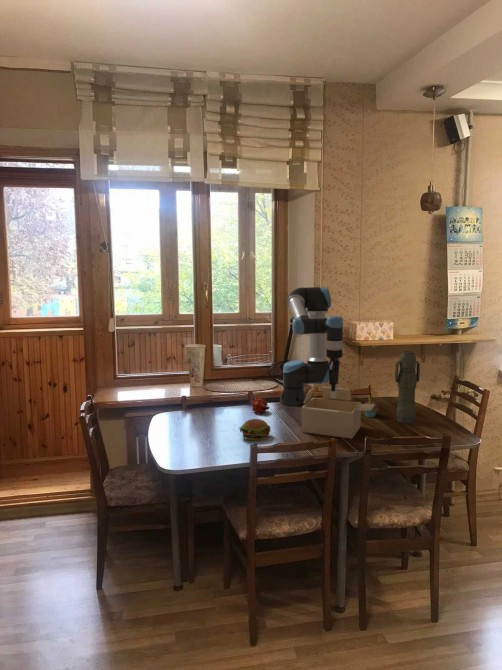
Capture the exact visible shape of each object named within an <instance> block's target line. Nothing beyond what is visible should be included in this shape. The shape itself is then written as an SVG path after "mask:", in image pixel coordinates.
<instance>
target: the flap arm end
mask: <svg viewBox="0 0 502 670" xmlns="http://www.w3.org/2000/svg"><path fill="white" fill-rule="evenodd" d="M314 391H315V387H313V386H312V388H311V389H309V390H308V391H307V393H306V398H305V400H304V402H303V405H305V403H306V402H308V401H310V400H311V399H312V398H311V397H312V395H313V393H314Z"/></svg>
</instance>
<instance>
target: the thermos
mask: <svg viewBox="0 0 502 670" xmlns="http://www.w3.org/2000/svg"><path fill="white" fill-rule="evenodd" d="M394 367H395V368H394V369H395V370H394V382H395V383H397V387H398V397H397V406H396V421H397V423H400V424H406V425H408V424H409V425H410V424H414V423H415V422H416V406H415V405H416V403H415V402H416V401H415V400H416V388H417V383H419V382H420V377H421V375H420V374H421V373H420V370H421V363H419V361H417V357H416V354H415V352H414V351H409V350H404V351H401V353H400V356H399V360H398V361H396V362H395V366H394Z"/></svg>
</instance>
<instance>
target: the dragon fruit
mask: <svg viewBox="0 0 502 670" xmlns="http://www.w3.org/2000/svg"><path fill="white" fill-rule="evenodd" d="M251 407H252V412H255V413H256V414H258V415H261V414H262V413H265V412H266V411H268V410H269V409H270V406H268V402H267V401H266V399H265V398H262V397H256V398H254V399H253V401H252V402H251Z"/></svg>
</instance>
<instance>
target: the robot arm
mask: <svg viewBox="0 0 502 670" xmlns="http://www.w3.org/2000/svg"><path fill="white" fill-rule="evenodd" d="M286 305H287V308H288V309H289V310H290V311H291V314H292V316H293V320H292V324H291V325H292V327H291V328H292V333H293V334H294V335H295V334H296V335H309V357H308V359H307V363H306V362H304V360H301V359H300V360H297V359H296V360H290V361H287V362H285V363H284V364H283V368H282V373H283V375H282V376H283V379H282V383H283V384H282V385H283V386H282V390H281V394H280V399H279V402H280V403H281V404H282V405H284V406H285V405H286V406H293V407H295V406H304V405H305V404H306V403H307V402H308V401H307V402H306V403H305V404H303V402H304V400H305V398H306V395H307V393H306V390H305V385H313V384H314V385H315V384H316V385H317V384H320V385H321V384H328V385H330V387H331V398H337V388H338V384H339V383H340V382H339V376H340V364H341V361H340V360H339V359H341V358H343V345H344V342H343V334H344V329H343V328H344V318H343V316H339V315H329V316H327V317H326V314H327V313H328V312H329V309H330V308H332V297H331V292H330V291H329V288H327V287H325V286H324V287H322V286H319V287H318V286H317V287H316V286H315V287H311V286H309V287H297V288H296V289H294V290H292V291H291V292H289V294H288V295H287V298H286ZM329 359H330V360H329Z"/></svg>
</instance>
